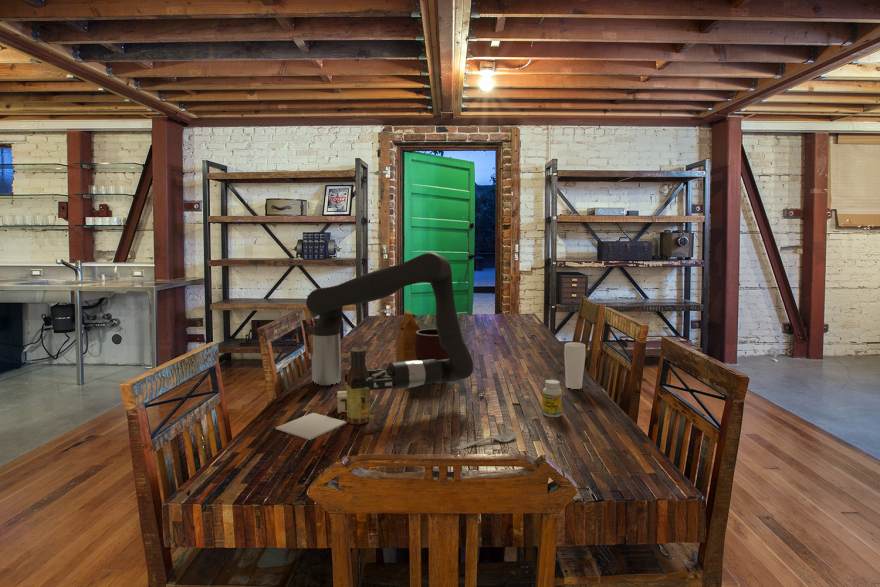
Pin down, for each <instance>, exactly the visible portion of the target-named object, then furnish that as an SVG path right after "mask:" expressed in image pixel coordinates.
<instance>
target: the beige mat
mask: <svg viewBox="0 0 880 587" xmlns="http://www.w3.org/2000/svg"><path fill="white" fill-rule="evenodd" d="M346 424H348V421H345V420H342V419H337V418H334V417H331V416H327V415H324V414H319V413H316V412H312V413H308V414H306V415H304V416H300V417H299V418H296V419H294V420H290V421H288V422H286V423H284V424H281V425H278V426H276V427H274V428H275V429H274V430H276V431H277V430H278V431H281V432H284V433H287V434H289V435H292V436H295V437H299V438H303V439H305V440H309V441H311V440H313V439H316V438H317V437H320V436H322V435H324V434H327V433H328V432H331V431H333V430H335V429H337V428H340V427H342V426H344V425H346Z"/></svg>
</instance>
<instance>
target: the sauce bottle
mask: <svg viewBox="0 0 880 587" xmlns="http://www.w3.org/2000/svg"><path fill="white" fill-rule="evenodd" d="M366 353H367V351H366V349H365V348H352V349H350V359H351V360H350V361H351V364H350V368H349V370H348V372H347V373H346V374H347V382H346V391H347V413H346V416H347V423H348V424H351V425H355V426H356V425H364V424H366V423H368V422H369V421H370V416H371V390H370V389H369V388H368V389H367V388H357V389H351V387H350V381H351V380H358V379H366V378H369V374H368V371H367V369H366V368H367V367H366Z"/></svg>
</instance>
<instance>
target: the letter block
mask: <svg viewBox="0 0 880 587" xmlns="http://www.w3.org/2000/svg"><path fill="white" fill-rule="evenodd" d="M336 398H337V399H336V400H337V414H342V413H341V412H347V390H339V391H337V396H336Z"/></svg>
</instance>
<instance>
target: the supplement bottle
mask: <svg viewBox="0 0 880 587" xmlns="http://www.w3.org/2000/svg"><path fill="white" fill-rule="evenodd" d="M544 381H545V382H544V386H545V387H544V388H542V400H541V401H542V402H541V403H542V406H541V407H542V410H541V414H543V415H544V416H545V417H549V418H559V417H561V416H562V412H563V411H562V407H563V398H562V397H563V392H562V391H563V390H562V389H561V388H560V386H561V384H560V381H559V380H556V379H546V380H544Z"/></svg>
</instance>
